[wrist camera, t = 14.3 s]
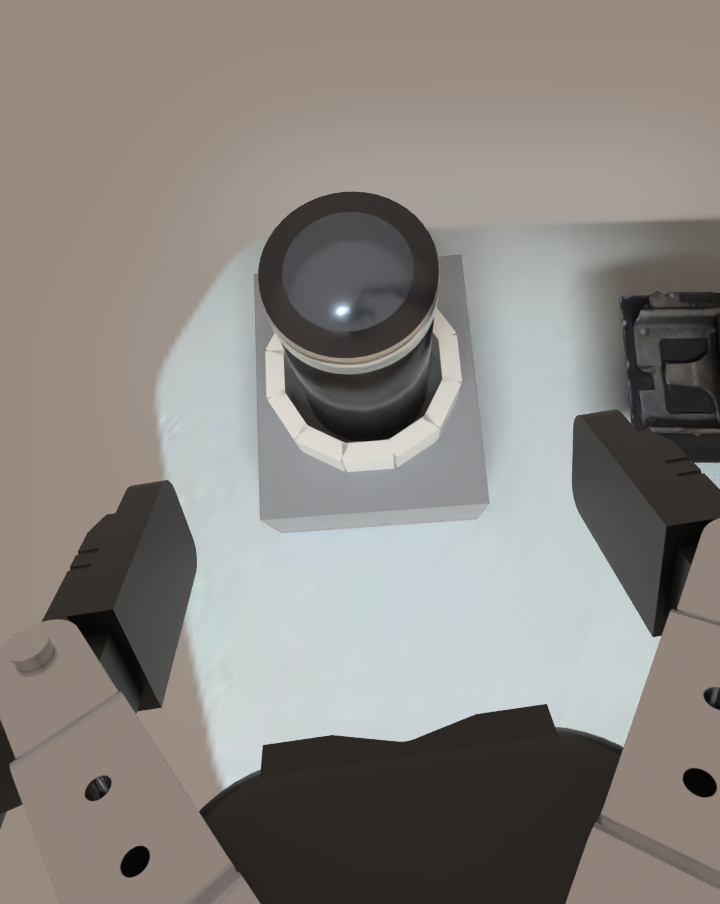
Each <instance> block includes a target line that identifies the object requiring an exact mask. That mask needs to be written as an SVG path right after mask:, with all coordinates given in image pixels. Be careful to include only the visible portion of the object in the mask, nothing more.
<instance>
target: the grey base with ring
mask: <svg viewBox="0 0 720 904" xmlns="http://www.w3.org/2000/svg"><path fill="white" fill-rule="evenodd" d="M438 258H439V264H440V283H439V292H438V301H437V308H436V312H435V315H434V325H433V334H432V344H431V353H430V363H429V372H428V382H427V391H426V396H425V400H424V403H423V406H422V408H421V410H420V412H419V413H418V415H417V416H416V418H415V419H414V420H413V421H412V422H411V423H410V424H409V425H408V426H407V427H406V428H405V429H403V430H402V431H401V432H399V433H397V434H396V435H394V436H392V437H389V438H387V439H383V440H379V441H366V442H358V441H352V440H348V439H345V438H343V437H340V436H338V435H336V434H334V433H333V432H331V431H330V430H329V429H327V428H326V427H325V426H324V425H323V424H322V423H321V422H320V421H319V419H318V418H317V417H316V415H315V414H314V412H313V410H312V408H311V406H310V404H309V402H308V399H307V397H306V395H305V393H304V391H303V389H302V387H301V384H300V382H299V380H298V378H297V376H296V374H295V372H294V369H293V367H292V365H291V363H290V361H289V359H288V357H287V354H286V352H285V350H284V348H283V346H282V344H281V342H280V340H279V339H278V337H277V335H276V334H275V332H274V330H273V328H272V326H271V324H270V322H269V320H268V318H267V315H266V313H265V311H264V308H263V306H262V303H261V299H260V295H259V288H258V274H254V291H255V332H256V372H257V413H258V454H259V495H260V520H261V521H262V522H264V523H266V524H267V525H269V526H271V527H272V528H274V529H276V530H278V531H279V532H281V533H289V532H303V531H317V530H331V529H344V528H358V527H372V526H386V525H400V524H414V523H428V522H442V521H456V520H470V519H477V518H478V517H479V515H480V514H481V513H482V512H483V511H484V509H485V508H486V507H487V506H488V505H489V496H488V487H487V478H486V469H485V461H484V452H483V443H482V434H481V426H480V417H479V408H478V399H477V391H476V382H475V373H474V364H473V355H472V347H471V338H470V329H469V320H468V312H467V303H466V294H465V285H464V277H463V268H462V259H461V255H454V256H443V257H438Z"/></svg>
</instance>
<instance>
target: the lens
mask: <svg viewBox="0 0 720 904" xmlns="http://www.w3.org/2000/svg"><path fill="white" fill-rule="evenodd" d="M439 283H440V264H439V258H438V254H437V251H436V248H435V245H434V242H433V240H432V238H431V236H430V234H429V232H428V231H427V229H426V228H425V227H424V225H423V224H422V223H421V222H420V220H419V219H418V218H417V217H416V216H415V215H414V214H412V213H411V212H410V211H409V210H408V209H406V208H405V207H403V206H402V205H400V204H398V203H397V202H394V201H392V200H390V199H388V198H385V197H382V196H379V195H375V194H370V193H364V192H341V193H334V194H329V195H326V196H322V197H319V198H317V199H314V200H312V201H309V202H307V203H306V204H304V205H302V206H300V207H299V208H297V209H296V210H294V211H293V212H291V213H290V214H289V215H288V216H287V217H286V218H285V219H283V220H282V221H281V223H280V224H279V225H278V226H277V227H276V228H275V230H274V231H273V233H272V234H271V236H270V237H269V239H268V241H267V243H266V245H265V247H264V249H263V252H262V255H261V259H260V264H259V271H258V288H259V295H260V299H261V303H262V306H263V308H264V311H265V313H266V315H267V318H268V320H269V322H270V324H271V326H272V328H273V330H274V332H275V334H276V335H277V337H278V339H279V340H280V342H281V344H282V346H283V348H284V350H285V352H286V354H287V357H288V359H289V361H290V363H291V365H292V367H293V369H294V372H295V374H296V376H297V378H298V380H299V382H300V384H301V387H302V389H303V391H304V393H305V395H306V397H307V399H308V402H309V404H310V406H311V408H312V410H313V412H314V414H315V415H316V417H317V418H318V419H319V421H320V422H321V423H322V424H323V425H324V426H325V427H326V428H327V429H329V430H330V431H331V432H333V433H334V434H336V435H338V436H340V437H343V438H345V439H348V440H352V441H358V442H366V441H379V440H383V439H387V438H389V437H392V436H394V435H396V434H397V433H399V432H401V431H402V430H403V429H405V428H406V427H407V426H408V425H409V424H410V423H411V422H412V421H413V420H414V419H415V418H416V416H417V415H418V413H419V412H420V410H421V408H422V406H423V403H424V400H425V396H426V391H427V382H428V372H429V363H430V353H431V344H432V334H433V325H434V315H435V312H436V308H437V301H438V292H439Z"/></svg>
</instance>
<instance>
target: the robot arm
mask: <svg viewBox="0 0 720 904" xmlns="http://www.w3.org/2000/svg"><path fill="white" fill-rule="evenodd" d="M572 489H573V496H574V500H575V504H576V507H577V509H578V512H579V514H580V515H581V517H582V519H583V520H584V522H585V524H586V525H587V527H588V529H589V530H590V532H591V534H592V536H593V537H594V539H595V541H596V542H597V544H598V546H599V547H600V549H601V551H602V552H603V554H604V556H605V557H606V559H607V561H608V562H609V564H610V566H611V567H612V569H613V571H614V573H615V574H616V576H617V578H618V579H619V581H620V583H621V584H622V586H623V588H624V589H625V591H626V593H627V594H628V596H629V598H630V599H631V601H632V603H633V605H634V606H635V608H636V610H637V611H638V613H639V615H640V616H641V618H642V620H643V621H644V623H645V625H646V626H647V628H648V630H649V631H650V633H651V635H652V636H653V637H656V636H661V639H660V642H659V645H658V648H657V651H656V654H655V657H654V660H653V663H652V666H651V669H650V672H649V675H648V678H647V680H646V683H645V686H644V689H643V692H642V695H641V698H640V701H639V704H638V707H637V710H636V713H635V716H634V719H633V722H632V725H631V728H630V731H629V733H628V736H627V739H626V742H625V745H624V747H622V746H621V745H618V744H616V743H614V742H611V741H609V740H607V739H604V738H602V737H599V736H596V735H593V734H590V733H586V732H583V731H578V730H573V729H568V728H561V727H555V726H554V723H553V720H552V717H551V715H550V712H549V709H548V706H547V704H544V705H537V706H530V707H523V708H516V709H509V710H502V711H496V712H489V713H482V714H476V715H473V716H471V717H468V718H466V719H463V720H461V721H458V722H456V723H453V724H451V725H448V726H446V727H443V728H441V729H438V730H436V731H433V732H431V733H429V734H426V735H424V736H421V737H419V738H416V739H414V740H410V741H406V742H396V741H385V740H375V739H365V738H355V737H345V736H335V735H330V736H323V737H316V738H309V739H303V740H296V741H289V742H282V743H275V744H268V745H263V751H262V763H261V770H258V771H256V772H254V773H251V774H249V775H248V776H246V777H244V778H242V779H240V780H238V781H236V782H235V783H233V784H232V785H230V786H229V787H228V788H226V789H225V790H223V791H222V792H220V793H219V794H218V795H217V796H215V797H214V798H213V799H212V800H211V801H210V802H208V803H207V804H206V805H205V806H204V807H203V808H202V809H201V810H200V811H198V810H197V808H196V807H195V805H194V804H193V802H192V801H191V799H190V797H189V796H188V794H187V793H186V791H185V790H184V788H183V787H182V785H181V783H180V782H179V780H178V779H177V777H176V776H175V774H174V772H173V771H172V769H171V768H170V766H169V765H168V763H167V762H166V760H165V759H164V757H163V755H162V754H161V752H160V751H159V749H158V748H157V746H156V745H155V743H154V742H153V740H152V738H151V737H150V735H149V734H148V732H147V731H146V729H145V727H144V726H143V724H142V723H141V721H140V720H139V718H138V717H137V715H136V713H137V711H142V710H149V709H156V708H161V707H162V704H163V700H164V695H165V692H166V688H167V684H168V680H169V676H170V671H171V668H172V664H173V660H174V656H175V652H176V648H177V645H178V641H179V636H180V633H181V629H182V625H183V621H184V617H185V613H186V609H187V605H188V601H189V597H190V593H191V589H192V586H193V582H194V578H195V574H196V568H197V555H196V548H195V544H194V540H193V537H192V535H191V532H190V529H189V527H188V524H187V521H186V519H185V516H184V513H183V511H182V508H181V505H180V503H179V500H178V497H177V494H176V492H175V489H174V487H173V485H172V484H171V483H170V482H169V481H168V480H165V481H159V482H152V483H146V484H140V485H134V486H130V487H129V488H128V489H127V490H126V492H125V494H124V496H123V498H122V501H121V503H120V505H119V507H118V509H117V511H116V513H114V514H108V515H106V516H105V517H104V518H102V519H101V521H99V522H98V523H97V524H96V525H95V526H94V527H93V528H92V529H91V530H90V531H89V532H88V533H87V535H86V537H85V539H84V541H83V543H82V545H81V547H80V549H79V551H78V555H76V556H75V558H74V560H73V562H72V564H71V566H70V571H68V572H67V574H66V576H65V578H64V580H63V582H62V584H61V586H60V588H59V589H58V592H57V593H56V595H55V597H54V599H53V601H52V603H51V605H50V607H49V609H48V611H47V613H46V615H45V617H44V619H43V620H42V622H40V623H37V624H35V625H32V626H29V627H27V628H25V629H24V630H22V631H20V632H18V633H17V634H15V635H14V636H12V637H11V638H10V639H8V640H7V641H6V642H5V643H4V644H2V645H1V646H0V828H1V825H2V823H3V820H4V817H5V815H6V812H7V811H9V810H11V809H13V808H15V807H18V806H20V805H22V804H23V806H24V809H25V811H26V814H27V817H28V820H29V822H30V825H31V828H32V830H33V833H34V836H35V838H36V841H37V844H38V847H39V849H40V852H41V855H42V857H43V860H44V863H45V866H46V868H47V871H48V874H49V876H50V879H51V882H52V884H53V887H54V890H55V893H56V895H57V898H58V901H59V903H60V904H720V489H719V488H718V487H717V486H716V485H715V484H714V483H713V482H712V481H711V480H710V479H709V478H708V477H707V476H706V475H705V474H704V473H703V474H702V473H701V470H700V469H699V468H698V467H697V466H696V465H695V463H694V462H693V461H692V460H690V461H689V459H688V456H687V455H686V454H685V453H684V452H683V451H682V450H681V449H680V448H679V447H678V446H677V445H676V444H675V443H674V442H673V441H671V440H669V439H667V438H665V437H663V436H661V435H659V434H657V433H655V432H653V431H651V430H644V431H637V430H636V429H635V428H634V427H633V425H632V424H631V423H630V422H629V421H628V420H627V419H626V418H625V417H624V415H623V414H622V413H621V412H620V411H619V410H616V409H615V410H609V411H602V412H596V413H590V414H583V415H578V416H576V418H575V420H574V426H573V461H572Z"/></svg>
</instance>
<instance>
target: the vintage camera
mask: <svg viewBox="0 0 720 904" xmlns="http://www.w3.org/2000/svg"><path fill="white" fill-rule="evenodd" d="M619 303H620V312H621V321H622V330H623V339H624V349H625V360H626V371H627V383H628V399H629V407H630V416H631V424H632V425H633V427H634V428H635V429H636V430H637V431H644V430H651V431H653V432H655V433H657V434H659V435H661V436H663V437H665V438H667V439H669V440H671V441H673V442H674V443H675V444H676V445H677V446H678V447H679V448H680V449H681V450H682V451H683V452H684V453H685V454H686V455H687V456H688V459H689V461H690V460H692V461H693V462H694V463H720V293H713V292H676V293H672V292H668V293H667V294H666V296H665V295H663V294H661V293H659V292H657V291H656V292H655V293H653V294H652V295H650V296H621V297H620V299H619Z"/></svg>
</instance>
